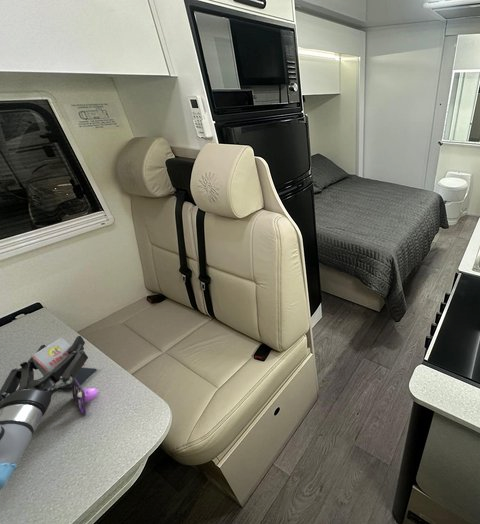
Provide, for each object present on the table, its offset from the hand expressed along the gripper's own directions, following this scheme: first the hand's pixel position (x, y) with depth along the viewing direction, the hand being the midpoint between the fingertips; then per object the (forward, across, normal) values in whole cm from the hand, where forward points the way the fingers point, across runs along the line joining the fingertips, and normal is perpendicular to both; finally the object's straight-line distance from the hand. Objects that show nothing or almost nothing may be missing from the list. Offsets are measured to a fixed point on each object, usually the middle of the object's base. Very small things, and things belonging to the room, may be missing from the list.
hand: (63, 344), depth 79 cm
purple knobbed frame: (-16, +7, -9) cm, 19 cm away
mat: (-5, 0, -9) cm, 10 cm away
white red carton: (-5, 0, -6) cm, 8 cm away
